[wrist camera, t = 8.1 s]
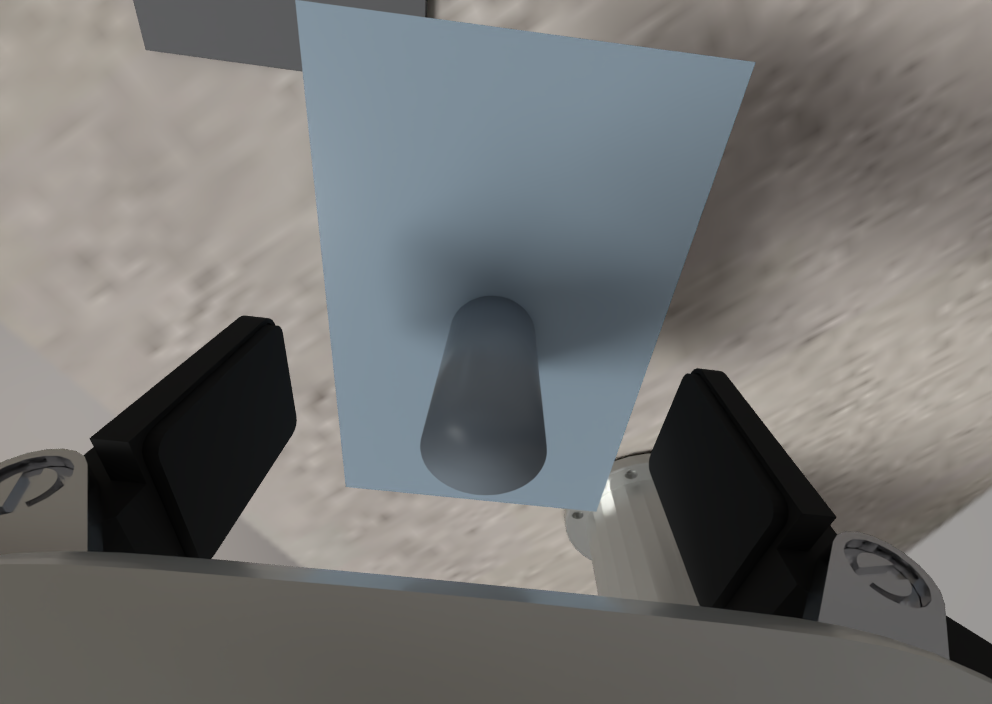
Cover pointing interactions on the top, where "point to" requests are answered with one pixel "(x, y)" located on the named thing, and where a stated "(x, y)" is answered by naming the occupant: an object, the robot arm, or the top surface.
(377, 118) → the lid
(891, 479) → the top surface
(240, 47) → the mat
